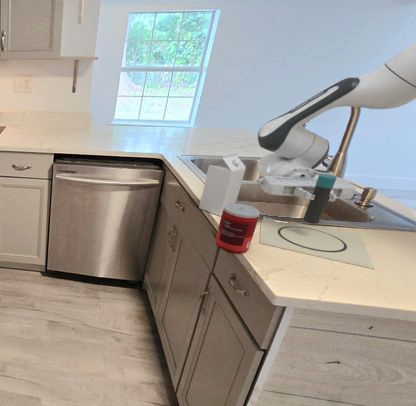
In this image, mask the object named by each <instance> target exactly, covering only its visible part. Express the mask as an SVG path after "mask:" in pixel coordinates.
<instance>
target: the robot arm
mask: <svg viewBox="0 0 416 406" xmlns="http://www.w3.org/2000/svg"><path fill="white" fill-rule="evenodd" d="M415 100H416V42H415V43H413V44H411V45H410V46H407V48H405V49H404V50H402V51H400V52H399V53H397V54H396V55H394V56H393V57H391V58H390V59H389V60H387V61H386V62H384V63H383V64H382V65H380V66H379V67H377V68H376V69H373V70H372V71H369V72H366V73H365V74H362V75H359V76H357V77H347V78H344V79H341V80H339V81H338V82H337V81H336V83H334V84H332V85H330V86H329V87H326V88H325V89H323V90H322V91H320V92H318V93H317V94H315V95H313V96H312V97H310V98H308V99H306V100H305V101H303V102H301V103H300V104H298V105H297V106H295V107H294V108H292V109H290V110H288V111H287V112H286V113H283V114H282V115H281V114H280V115H279V116H277V117H275V118H273V119H271V120H269V121H267V122H265V124H264V125H262V126H261V128H260V129H259V130H258V132H257V142H258V145H259V147H260V148H262V149H264V150H266V151H269V152H271V153H268V154H265V155H263V156H262V157H260V158H259V160H258V162H257V172H258V174H259V176H261V177H260V178H256V180H255V181H256V183H258V184H259V185H260V188H261V189H262V191H263V192H264V193H265V194H267V195H270V196H280V197H281V196H283V197H284V196H285V197H298V198H302V199H304V200H306V201H310V200H314V199H315V198H314V197H315V196H316V195H315V194H314V193H313V191H314V189H315V186H316V182H317V179H318V176H319V175H320V174H327V175H332V176H335V172H333V171H328V170H323V169H316V168H318V167H320V165H321V164H322V163H323V162H324V161H325V160H326V158H327V157H328V155H329V152H330V143H329V140H328V139H326V138H324V137H323V136H321V135H319V134H317V133H315V132H314V131H310V130H309V129H307V128H305V127H303V126H302V125H305V124H306V123H308V122H310V121H311V120H313V119H315V118H317V117H318V116H320V115H323V114H324V113H326V112H327V111H329V110H333V109H335V108H339V107H340V108H341V107H354V108H355V107H356V108H364V109H371V110H391V109H397V108H400V107H403V106H405V105H407V104H409V103H412V102H413V101H415ZM335 177H337V178H336V181H335V183H334V186H333V188H332V190H331V192H330V195H329V197H328V200H327V202H332V203H333V202H335V201H336V200H351V199H352V198H353V197H354V195H355V192H356V189H357V187H356V186H355V184H353V183H351V182H349V181H348V180H345V179H343V178H342V177H339V176H335Z"/></svg>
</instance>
